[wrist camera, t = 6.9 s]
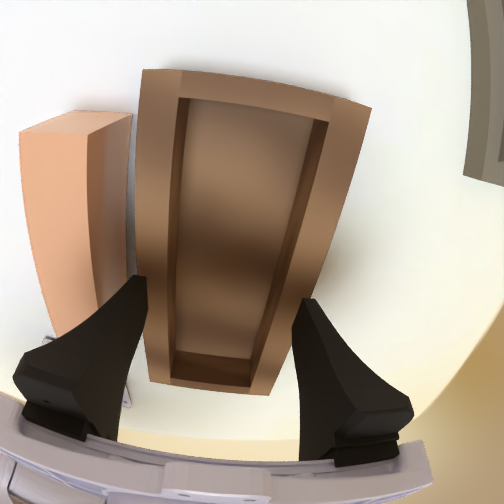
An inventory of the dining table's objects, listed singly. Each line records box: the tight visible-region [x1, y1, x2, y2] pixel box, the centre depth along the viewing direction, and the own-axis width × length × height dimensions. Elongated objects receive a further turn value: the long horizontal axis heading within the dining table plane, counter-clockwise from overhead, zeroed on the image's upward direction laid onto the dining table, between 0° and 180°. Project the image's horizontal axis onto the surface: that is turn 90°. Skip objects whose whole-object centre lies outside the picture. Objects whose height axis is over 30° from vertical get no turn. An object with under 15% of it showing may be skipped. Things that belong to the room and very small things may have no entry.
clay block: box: [19, 110, 133, 338], centre depth 15 cm, size 14×4×5 cm, turn 168°
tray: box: [135, 69, 372, 396], centre depth 16 cm, size 19×9×4 cm, turn 170°
